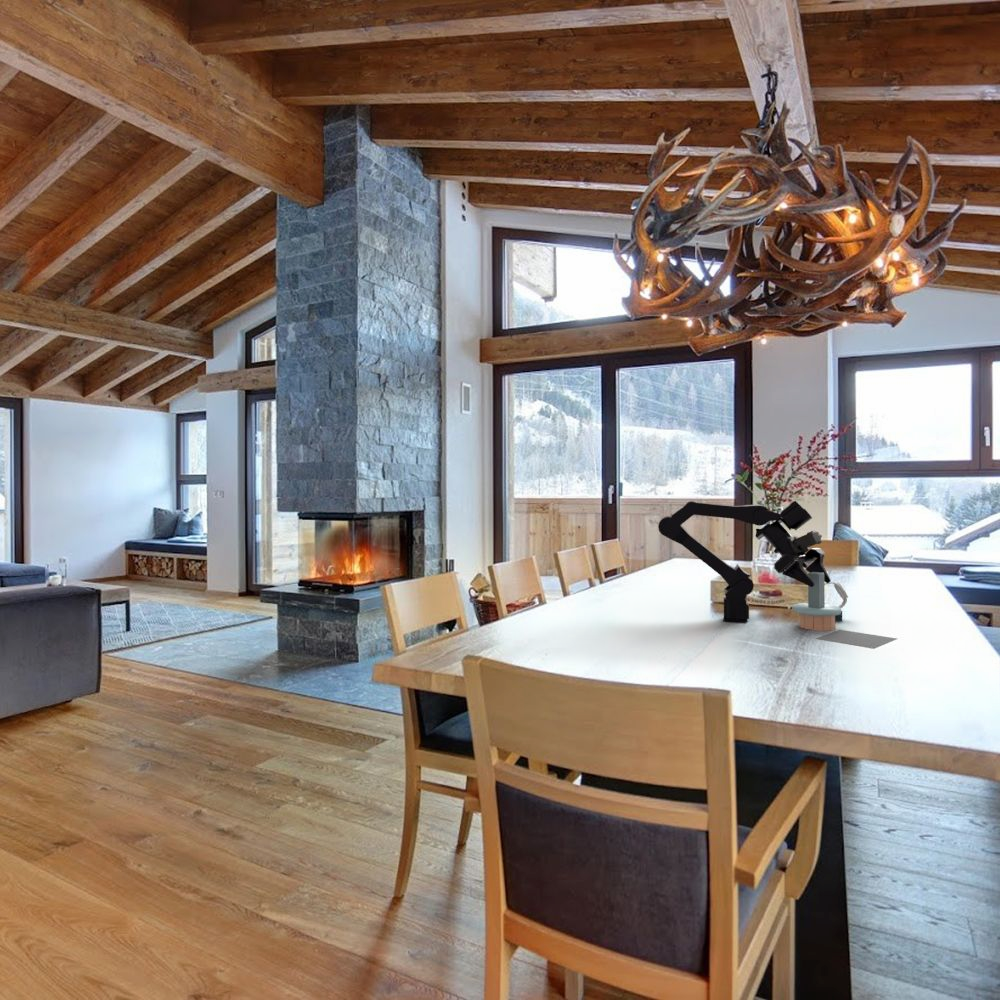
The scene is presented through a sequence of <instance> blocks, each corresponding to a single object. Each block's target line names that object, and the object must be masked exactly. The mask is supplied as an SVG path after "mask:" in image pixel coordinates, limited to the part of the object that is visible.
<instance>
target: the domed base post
mask: <svg viewBox="0 0 1000 1000" xmlns="http://www.w3.org/2000/svg"><path fill="white" fill-rule="evenodd" d="M807 574H808V575H809V576H810V578H811V579H812V581H813V582H814V584H815V585H814V586H813V587H810V586H808V585H807V588H808V589H807V598H808V599H807V602H803V603H802V602H801V603H794V604H793V605H792V607H791V608H792V609H791V611H792V612H794V613H796V614H798V615H799V614H804V615H812V616H835V615H840V614H841V611H842V608H840V607H839V605H833V604H827V603H825V599H826V598H825V585H824V582H825V581H824V573H819V572H811V573H810V572H807Z"/></svg>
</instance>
